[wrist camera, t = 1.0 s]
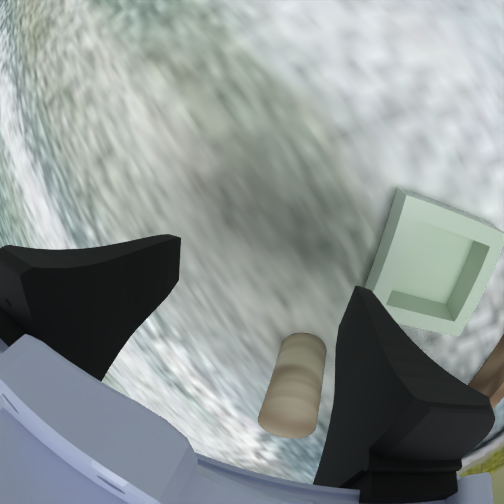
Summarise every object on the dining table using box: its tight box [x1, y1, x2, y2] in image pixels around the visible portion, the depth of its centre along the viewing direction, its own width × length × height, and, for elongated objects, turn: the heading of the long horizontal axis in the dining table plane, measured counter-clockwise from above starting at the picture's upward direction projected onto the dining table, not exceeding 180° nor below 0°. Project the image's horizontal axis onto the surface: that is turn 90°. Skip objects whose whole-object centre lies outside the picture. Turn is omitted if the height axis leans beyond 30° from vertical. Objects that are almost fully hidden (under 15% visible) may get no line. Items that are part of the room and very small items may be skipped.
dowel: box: [258, 333, 326, 438], centre depth 20 cm, size 4×4×8 cm
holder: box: [364, 187, 504, 337], centre depth 17 cm, size 8×8×3 cm
